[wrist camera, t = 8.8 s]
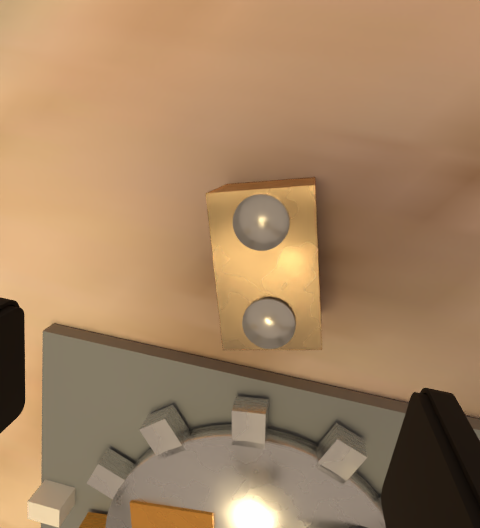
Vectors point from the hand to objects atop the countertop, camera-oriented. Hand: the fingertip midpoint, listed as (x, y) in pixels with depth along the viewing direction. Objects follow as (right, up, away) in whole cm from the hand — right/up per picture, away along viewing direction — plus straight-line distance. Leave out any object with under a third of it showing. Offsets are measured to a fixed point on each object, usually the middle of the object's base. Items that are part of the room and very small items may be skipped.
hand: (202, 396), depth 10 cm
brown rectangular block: (+3, +4, +15) cm, 16 cm away
